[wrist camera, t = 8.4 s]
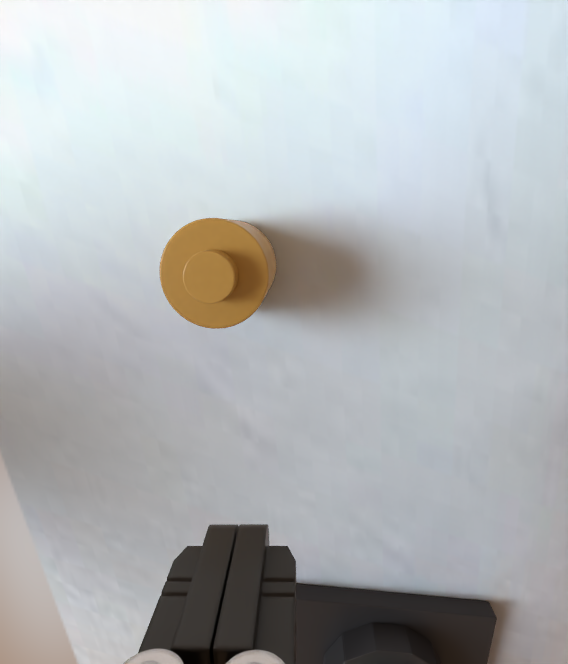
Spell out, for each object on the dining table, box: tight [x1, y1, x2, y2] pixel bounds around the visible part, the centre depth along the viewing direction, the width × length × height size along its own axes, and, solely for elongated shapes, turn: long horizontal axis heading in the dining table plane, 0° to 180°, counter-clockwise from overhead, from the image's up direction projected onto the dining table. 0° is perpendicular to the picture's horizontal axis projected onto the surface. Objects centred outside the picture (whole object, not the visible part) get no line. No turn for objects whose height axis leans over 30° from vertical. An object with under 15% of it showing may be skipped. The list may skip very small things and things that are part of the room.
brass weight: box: [160, 218, 276, 328], centre depth 20 cm, size 4×4×6 cm
